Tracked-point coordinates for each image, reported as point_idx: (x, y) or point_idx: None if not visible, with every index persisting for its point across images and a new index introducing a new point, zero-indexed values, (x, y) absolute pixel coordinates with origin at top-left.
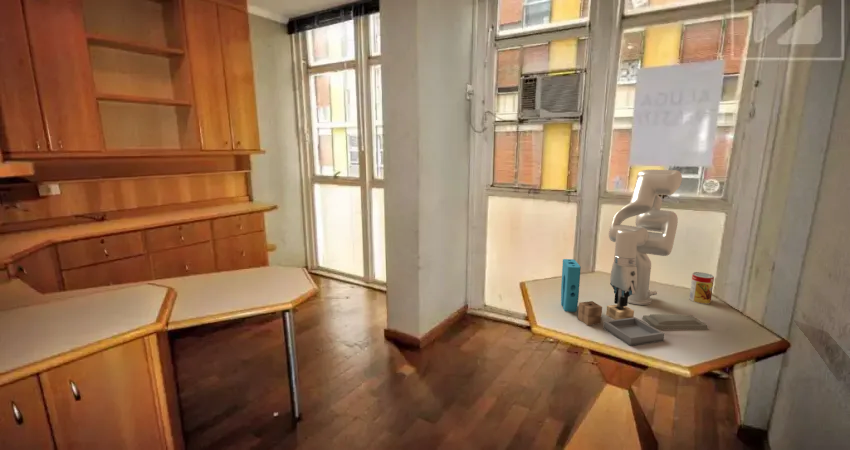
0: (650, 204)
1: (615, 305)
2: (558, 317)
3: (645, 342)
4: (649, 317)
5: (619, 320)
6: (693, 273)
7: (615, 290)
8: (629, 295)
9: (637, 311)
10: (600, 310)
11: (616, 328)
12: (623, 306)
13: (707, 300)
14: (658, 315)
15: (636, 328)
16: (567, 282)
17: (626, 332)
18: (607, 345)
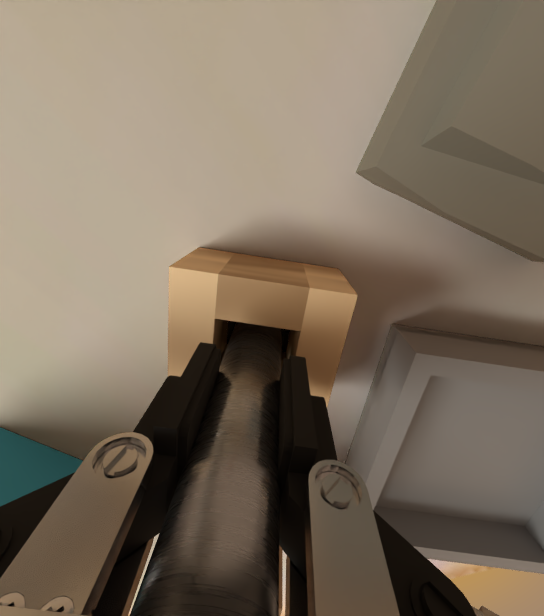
0: None
1: (185, 351)
2: (148, 561)
3: None
4: (440, 153)
5: (384, 479)
6: None
7: (115, 585)
8: (405, 550)
9: (219, 47)
10: (279, 576)
11: (444, 556)
12: (278, 368)
13: None
14: (539, 62)
15: (460, 392)
16: None
17: (451, 472)
18: (451, 575)
